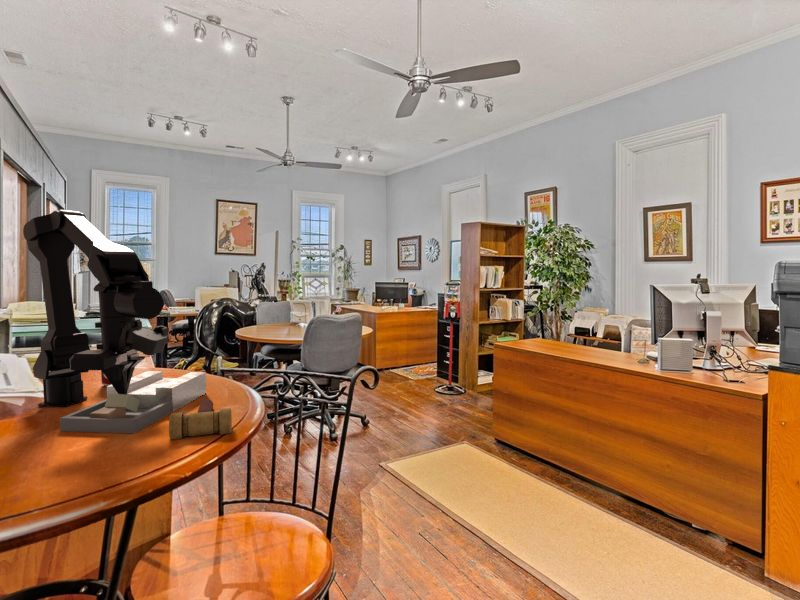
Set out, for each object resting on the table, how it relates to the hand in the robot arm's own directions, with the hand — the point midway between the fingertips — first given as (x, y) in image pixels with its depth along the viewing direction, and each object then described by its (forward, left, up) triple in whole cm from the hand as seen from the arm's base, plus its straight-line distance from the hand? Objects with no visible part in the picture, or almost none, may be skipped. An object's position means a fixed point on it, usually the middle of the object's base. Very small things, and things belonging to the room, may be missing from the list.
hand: (122, 395), depth 90 cm
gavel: (+16, +1, -5) cm, 16 cm away
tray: (0, -1, -5) cm, 5 cm away
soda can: (-19, +25, -5) cm, 32 cm away
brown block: (0, -4, -2) cm, 4 cm away
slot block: (0, +12, -5) cm, 13 cm away
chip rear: (0, 0, -3) cm, 3 cm away
